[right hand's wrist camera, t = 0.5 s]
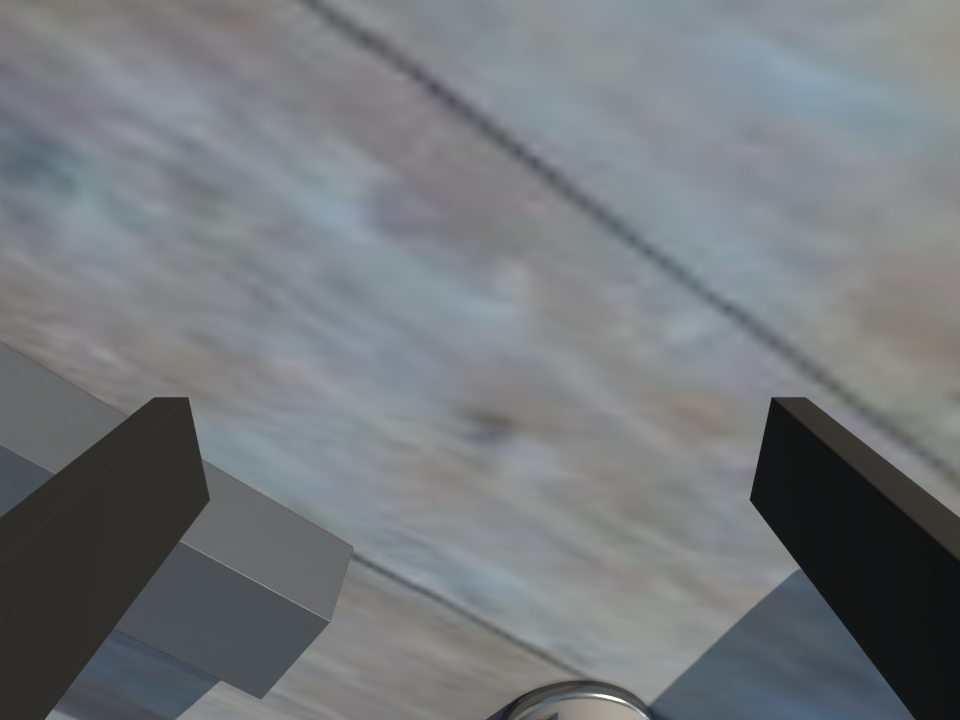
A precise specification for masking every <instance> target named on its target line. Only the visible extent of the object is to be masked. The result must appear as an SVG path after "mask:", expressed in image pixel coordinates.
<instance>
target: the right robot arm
mask: <svg viewBox="0 0 960 720" xmlns="http://www.w3.org/2000/svg"><path fill="white" fill-rule="evenodd" d="M209 501H210V497H209V492H208V487H207V483H206V478H205V473H204V469H203V464H202V459H201V455H200V450H199V445H198V441H197V436H196V431H195V427H194V422H193V417H192V413H191V408H190V403H189V399H188V397H154V398H153V399H152V400H150V401H149V402H148V403H146V404H145V405H144V406H143V407H141V408H140V409H139V410H137V411H136V412H135V413H134V414H132V415H131V416H130V417H129V418H127V419H126V420H125V421H123V422H122V423H121V424H120V425H118V426H117V427H116V428H114V429H113V430H112V431H111V432H109V433H108V434H107V435H106V436H104V437H103V438H102V439H100V440H99V441H98V442H97V443H95V444H94V445H93V446H91V447H90V448H89V449H88V450H86V451H85V452H84V453H82V454H81V455H80V456H79V457H77V458H76V459H75V460H74V461H72V462H71V463H70V464H68V465H67V466H66V467H65V468H63V469H62V470H61V471H59V472H58V473H57V474H56V475H54V476H53V477H52V478H51V479H49V480H48V481H47V482H45V483H44V484H43V485H42V486H40V487H39V488H38V489H36V490H35V491H34V492H33V493H31V494H30V495H29V496H27V497H26V498H25V499H24V500H22V501H21V502H20V503H19V504H17V505H16V506H15V507H13V508H12V509H11V510H10V511H8V512H7V513H6V514H4V515H3V516H2V517H1V518H0V720H45V718H46V717H47V716H48V714H49V713H50V712H51V710H52V709H53V708H54V706H55V705H56V704H57V702H58V701H59V700H60V698H61V697H62V696H63V694H64V693H65V692H66V690H67V689H68V688H69V686H70V685H71V684H72V682H73V681H74V680H75V679H76V677H77V676H78V675H79V673H80V672H81V671H82V669H83V668H84V667H85V665H86V664H87V663H88V661H89V660H90V659H91V657H92V656H93V655H94V653H95V652H96V651H97V649H98V648H99V647H100V645H101V644H102V643H103V641H104V640H105V639H106V637H107V636H108V635H109V633H110V632H111V631H112V630H113V628H114V627H115V626H116V624H117V623H118V622H119V620H120V619H121V618H122V616H123V615H124V614H125V612H126V611H127V610H128V608H129V607H130V606H131V604H132V603H133V602H134V600H135V599H136V598H137V596H138V595H139V594H140V592H141V591H142V590H143V588H144V587H145V586H146V584H147V583H148V582H149V581H150V579H151V578H152V577H153V575H154V574H155V573H156V571H157V570H158V569H159V567H160V566H161V565H162V563H163V562H164V561H165V559H166V558H167V557H168V555H169V554H170V553H171V551H172V550H173V549H174V547H175V546H176V545H177V543H178V542H179V541H180V539H181V538H182V537H183V535H184V534H185V533H186V531H187V530H188V529H189V528H190V526H191V525H192V524H193V522H194V521H195V520H196V518H197V517H198V516H199V514H200V513H201V512H202V510H203V509H204V508H205V506H206V505H207V504H208V502H209ZM750 501H751V502H752V504H753V505H754V506H755V508H756V509H757V510H758V512H759V513H760V514H761V516H762V517H763V518H764V520H765V521H766V522H767V524H768V525H769V526H770V528H771V529H772V530H773V531H774V533H775V534H776V535H777V537H778V538H779V539H780V541H781V542H782V543H783V545H784V546H785V547H786V549H787V550H788V551H789V553H790V554H791V555H792V557H793V558H794V559H795V561H796V562H797V563H798V565H799V566H800V567H801V569H802V570H803V571H804V573H805V574H806V575H807V577H808V578H809V579H810V581H811V582H812V583H813V584H814V586H815V587H816V588H817V590H818V591H819V592H820V594H821V595H822V596H823V598H824V599H825V600H826V602H827V603H828V604H829V606H830V607H831V608H832V610H833V611H834V612H835V614H836V615H837V616H838V618H839V619H840V620H841V622H842V623H843V624H844V626H845V627H846V628H847V630H848V631H849V632H850V633H851V635H852V636H853V637H854V639H855V640H856V641H857V643H858V644H859V645H860V647H861V648H862V649H863V651H864V652H865V653H866V655H867V656H868V657H869V659H870V660H871V661H872V663H873V664H874V665H875V667H876V668H877V669H878V671H879V672H880V673H881V675H882V676H883V677H884V679H885V680H886V681H887V683H888V684H889V685H890V686H891V688H892V689H893V690H894V692H895V693H896V694H897V696H898V697H899V698H900V700H901V701H902V702H903V704H904V705H905V706H906V708H907V709H908V710H909V712H910V713H911V714H912V716H913V717H914V718H915V720H960V518H959V517H958V516H957V515H956V514H954V513H953V512H952V511H950V510H949V509H948V508H947V507H945V506H944V505H943V504H941V503H940V502H939V501H938V500H936V499H935V498H934V497H933V496H931V495H930V494H929V493H927V492H926V491H925V490H924V489H922V488H921V487H920V486H918V485H917V484H916V483H915V482H913V481H912V480H911V479H909V478H908V477H907V476H906V475H904V474H903V473H902V472H901V471H899V470H898V469H897V468H895V467H894V466H893V465H892V464H890V463H889V462H888V461H886V460H885V459H884V458H883V457H881V456H880V455H879V454H878V453H876V452H875V451H874V450H872V449H871V448H870V447H869V446H867V445H866V444H865V443H863V442H862V441H861V440H860V439H858V438H857V437H856V436H854V435H853V434H852V433H851V432H849V431H848V430H847V429H846V428H844V427H843V426H842V425H840V424H839V423H838V422H837V421H835V420H834V419H833V418H831V417H830V416H829V415H828V414H826V413H825V412H824V411H823V410H821V409H820V408H819V407H817V406H816V405H815V404H814V403H812V402H811V401H810V400H808V399H807V398H806V397H772V399H771V403H770V408H769V413H768V417H767V422H766V427H765V431H764V436H763V441H762V445H761V450H760V455H759V459H758V464H757V469H756V473H755V478H754V483H753V487H752V492H751V497H750ZM502 720H654V718H653V716H652V714H651V712H650V710H649V709H648V707H647V706H646V705H645V704H644V703H643V702H642V701H641V700H640V699H639V698H637V697H636V696H635V695H633V694H632V693H630V692H628V691H626V690H624V689H622V688H619V687H617V686H614V685H610V684H606V683H602V682H595V681H568V682H561V683H556V684H552V685H549V686H545V687H542V688H540V689H537V690H535V691H533V692H531V693H529V694H527V695H526V696H524V697H523V698H521V699H520V700H518V701H517V702H516V703H515V704H514V705H513V706H512V707H511V708H510V709H509V710H508V711H507V712H506V714H505V715H504V717H503V718H502Z"/></svg>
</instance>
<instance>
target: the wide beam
mask: <svg viewBox="0 0 960 720" xmlns="http://www.w3.org/2000/svg"><path fill="white" fill-rule="evenodd" d="M127 418H129V417H128V416H127V415H125V414H123V413H121V412H120V411H118V410H116V409H114V408H113V407H111V406H109V405H108V404H106V403H104V402H102V401H101V400H99V399H97V398H95V397H94V396H92V395H90V394H89V393H87V392H85V391H83V390H82V389H80V388H78V387H77V386H75V385H73V384H71V383H70V382H68V381H66V380H64V379H63V378H61V377H59V376H58V375H56V374H54V373H52V372H51V371H49V370H47V369H45V368H44V367H42V366H40V365H39V364H37V363H35V362H33V361H32V360H30V359H28V358H27V357H25V356H23V355H21V354H20V353H18V352H16V351H14V350H13V349H11V348H9V347H8V346H6V345H4V344H2V343H1V342H0V518H1V517H2V516H3V515H4V514H6V513H7V512H8V511H10V510H11V509H12V508H13V507H15V506H16V505H17V504H19V503H20V502H21V501H22V500H24V499H25V498H26V497H27V496H29V495H30V494H31V493H33V492H34V491H35V490H36V489H38V488H39V487H40V486H42V485H43V484H44V483H45V482H47V481H48V480H49V479H51V478H52V477H53V476H54V475H56V474H57V473H58V472H59V471H61V470H62V469H63V468H65V467H66V466H67V465H68V464H70V463H71V462H72V461H74V460H75V459H76V458H77V457H79V456H80V455H81V454H82V453H84V452H85V451H86V450H88V449H89V448H90V447H91V446H93V445H94V444H95V443H97V442H98V441H99V440H100V439H102V438H103V437H104V436H106V435H107V434H108V433H109V432H111V431H112V430H113V429H114V428H116V427H117V426H118V425H120V424H121V423H122V422H123V421H125V420H126V419H127ZM202 464H203V469H204V473H205V478H206V483H207V487H208V492H209V497H210V501H209V502H208V504H207V505H206V506H205V508H204V509H203V510H202V512H201V513H200V514H199V516H198V517H197V518H196V520H195V521H194V522H193V524H192V525H191V526H190V528H189V529H188V530H187V531H186V533H185V534H184V535H183V537H182V538H181V539H180V541H179V542H178V543H177V545H176V546H175V547H174V549H173V550H172V551H171V553H170V554H169V555H168V557H167V558H166V559H165V561H164V562H163V563H162V565H161V566H160V567H159V569H158V570H157V571H156V573H155V574H154V575H153V577H152V578H151V579H150V581H149V582H148V583H147V584H146V586H145V587H144V588H143V590H142V591H141V592H140V594H139V595H138V596H137V598H136V599H135V600H134V602H133V603H132V604H131V606H130V607H129V608H128V610H127V611H126V612H125V614H124V615H123V616H122V618H121V619H120V620H119V622H118V623H117V624H116V626H115V627H114V629H116V630H119V631H121V632H123V633H125V634H127V635H129V636H131V637H133V638H135V639H137V640H139V641H141V642H143V643H145V644H147V645H149V646H152V647H154V648H156V649H158V650H160V651H162V652H164V653H166V654H168V655H170V656H172V657H174V658H176V659H178V660H180V661H183V662H185V663H187V664H189V665H191V666H193V667H195V668H197V669H199V670H201V671H203V672H205V673H207V674H209V675H211V676H213V677H216V678H218V679H220V680H222V681H224V682H226V683H228V684H230V685H232V686H234V687H236V688H238V689H240V690H242V691H244V692H247V693H249V694H251V695H253V696H255V697H257V698H259V699H262V698H263V697H264V696H265V695H266V693H267V692H268V691H269V690H270V689H271V688H272V687H273V686H274V685H275V683H276V682H277V681H278V680H279V679H280V678H281V677H282V676H283V674H284V673H285V672H286V671H287V670H288V669H289V668H290V667H291V665H292V664H293V663H294V662H295V661H296V660H297V659H298V658H299V656H300V655H301V654H302V653H303V652H304V651H305V650H306V649H307V647H308V646H309V645H310V644H311V643H312V642H313V641H314V640H315V638H316V637H317V636H318V635H319V634H320V633H321V632H322V631H323V629H324V628H325V627H326V626H327V625H328V624H329V623H330V621H331V618H332V615H333V611H334V608H335V605H336V602H337V599H338V595H339V592H340V589H341V586H342V583H343V579H344V576H345V573H346V570H347V566H348V563H349V560H350V557H351V554H352V550H353V547H352V546H351V545H349V544H347V543H345V542H344V541H342V540H340V539H339V538H337V537H335V536H333V535H332V534H330V533H328V532H327V531H325V530H323V529H321V528H320V527H318V526H316V525H314V524H313V523H311V522H309V521H308V520H306V519H304V518H302V517H301V516H299V515H297V514H295V513H294V512H292V511H290V510H289V509H287V508H285V507H283V506H282V505H280V504H278V503H277V502H275V501H273V500H271V499H270V498H268V497H266V496H264V495H263V494H261V493H259V492H258V491H256V490H254V489H252V488H251V487H249V486H247V485H245V484H244V483H242V482H240V481H239V480H237V479H235V478H233V477H232V476H230V475H228V474H227V473H225V472H223V471H221V470H220V469H218V468H216V467H214V466H213V465H211V464H209V463H208V462H206V461H204V460H202Z"/></svg>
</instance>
